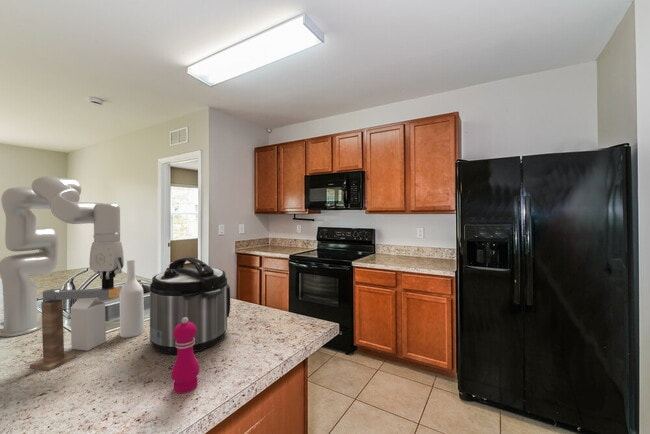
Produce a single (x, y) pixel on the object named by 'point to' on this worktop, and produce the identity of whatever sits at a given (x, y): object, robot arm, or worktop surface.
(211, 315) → the pressure cooker
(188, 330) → the pepper mill
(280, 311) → the worktop surface
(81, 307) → the milk carton
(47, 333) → the gate post
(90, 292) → the arm
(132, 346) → the worktop surface
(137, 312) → the bottle
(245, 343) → the worktop surface
